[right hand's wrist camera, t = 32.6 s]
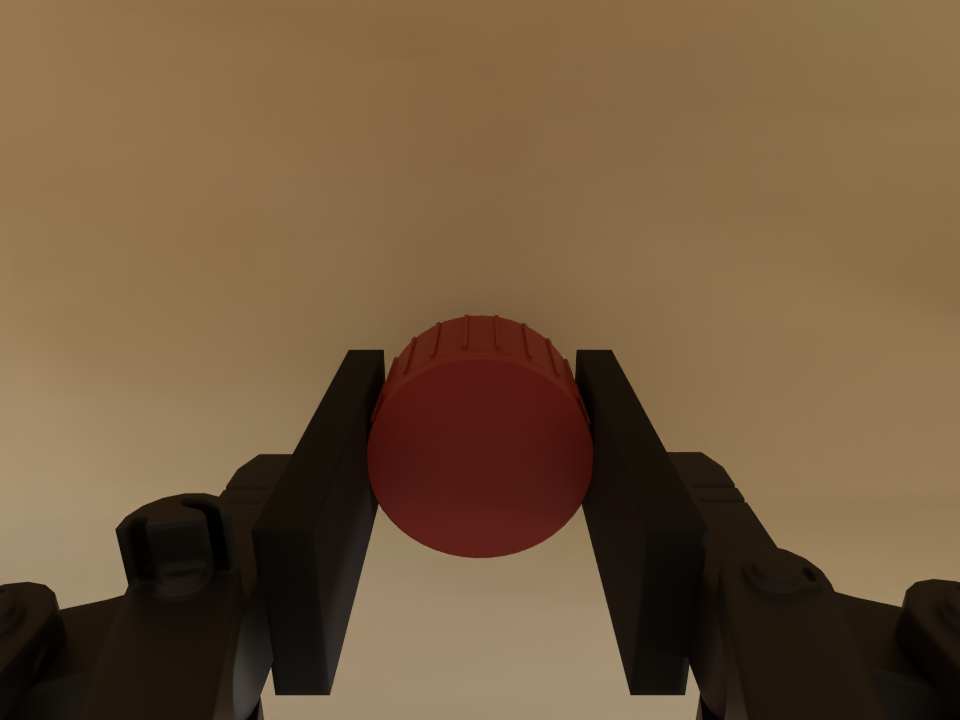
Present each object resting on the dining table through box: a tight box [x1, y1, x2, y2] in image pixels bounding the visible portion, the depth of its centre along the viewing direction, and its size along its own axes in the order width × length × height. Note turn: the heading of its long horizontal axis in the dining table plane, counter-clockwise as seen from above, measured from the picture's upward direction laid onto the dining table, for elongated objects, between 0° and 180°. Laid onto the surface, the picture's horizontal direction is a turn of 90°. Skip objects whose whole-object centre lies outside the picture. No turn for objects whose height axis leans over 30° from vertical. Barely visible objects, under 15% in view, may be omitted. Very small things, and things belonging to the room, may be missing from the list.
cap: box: [367, 315, 593, 558], centre depth 13 cm, size 4×4×2 cm
